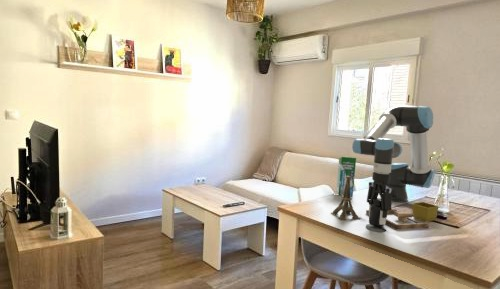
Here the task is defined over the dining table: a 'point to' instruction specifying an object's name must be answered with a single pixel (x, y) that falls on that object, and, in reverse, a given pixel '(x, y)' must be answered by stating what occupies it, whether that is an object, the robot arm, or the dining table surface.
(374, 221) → the supplement bottle
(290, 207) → the dining table surface
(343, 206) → the eiffel tower
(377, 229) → the coaster
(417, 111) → the robot arm
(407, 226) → the frame
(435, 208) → the flower pot
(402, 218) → the offcut middle
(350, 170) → the milk carton
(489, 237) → the dining table surface
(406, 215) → the offcut top
